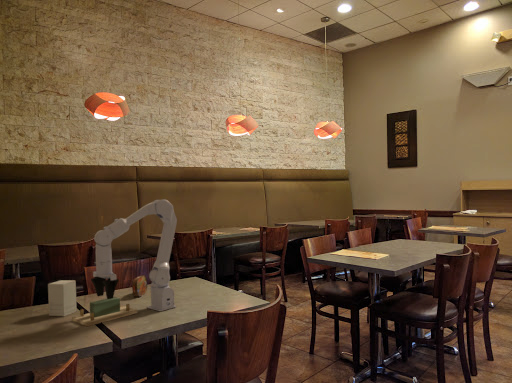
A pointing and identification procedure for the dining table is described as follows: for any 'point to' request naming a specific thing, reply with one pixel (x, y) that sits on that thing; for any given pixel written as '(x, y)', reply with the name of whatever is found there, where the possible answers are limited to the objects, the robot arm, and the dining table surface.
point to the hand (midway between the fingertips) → (105, 297)
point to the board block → (105, 306)
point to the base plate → (91, 320)
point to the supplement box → (62, 297)
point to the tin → (139, 286)
